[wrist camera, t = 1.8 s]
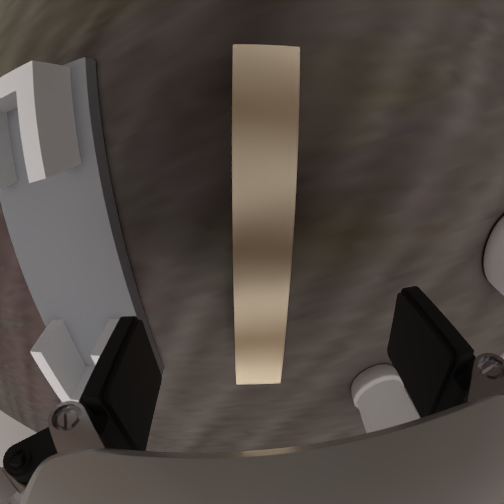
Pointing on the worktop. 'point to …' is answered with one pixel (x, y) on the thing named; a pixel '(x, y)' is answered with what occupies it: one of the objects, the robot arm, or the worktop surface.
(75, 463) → the robot arm
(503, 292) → the milk bottle
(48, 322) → the grey holder stand
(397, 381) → the bottle
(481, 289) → the worktop surface
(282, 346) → the slat
